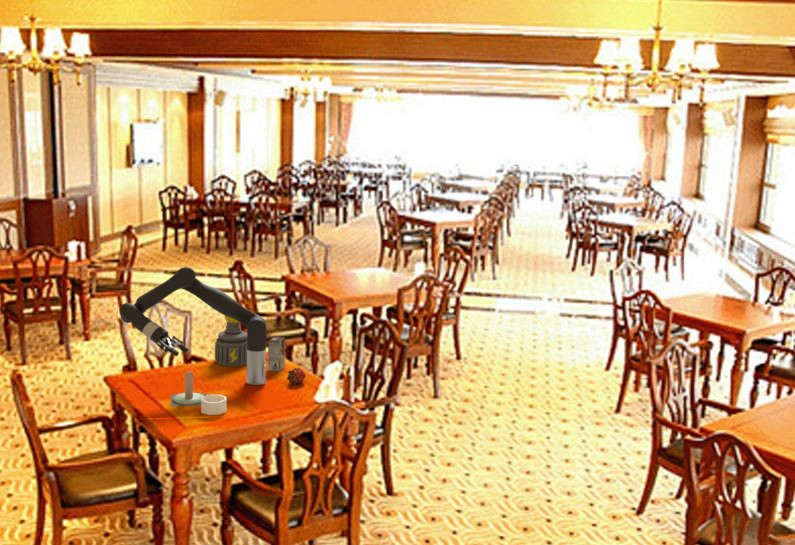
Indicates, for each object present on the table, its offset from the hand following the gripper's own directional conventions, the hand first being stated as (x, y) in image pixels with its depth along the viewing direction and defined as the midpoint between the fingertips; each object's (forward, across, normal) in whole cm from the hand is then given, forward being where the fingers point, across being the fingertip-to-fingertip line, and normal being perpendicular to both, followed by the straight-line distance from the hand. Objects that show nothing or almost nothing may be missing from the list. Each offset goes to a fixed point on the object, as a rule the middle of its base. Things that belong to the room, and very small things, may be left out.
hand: (182, 352), depth 391 cm
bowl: (+28, -4, +12) cm, 31 cm away
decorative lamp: (+3, +66, +18) cm, 69 cm away
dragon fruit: (+42, +48, -1) cm, 64 cm away
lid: (+12, +4, +19) cm, 23 cm away
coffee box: (+25, +65, +6) cm, 70 cm away
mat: (+13, +4, +19) cm, 23 cm away
